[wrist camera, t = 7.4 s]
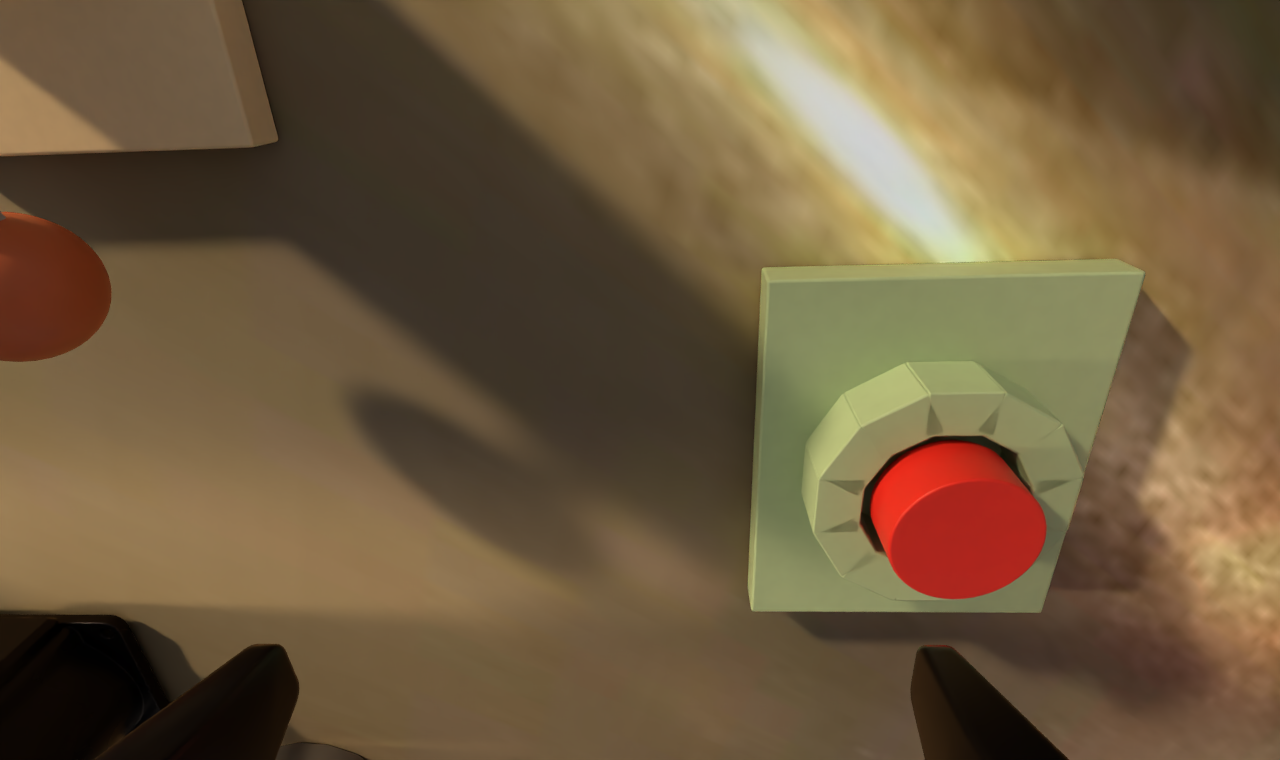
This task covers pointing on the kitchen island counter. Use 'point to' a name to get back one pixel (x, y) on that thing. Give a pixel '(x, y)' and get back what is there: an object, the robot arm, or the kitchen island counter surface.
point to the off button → (956, 520)
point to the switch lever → (47, 289)
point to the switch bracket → (129, 77)
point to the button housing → (920, 410)
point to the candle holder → (314, 752)
